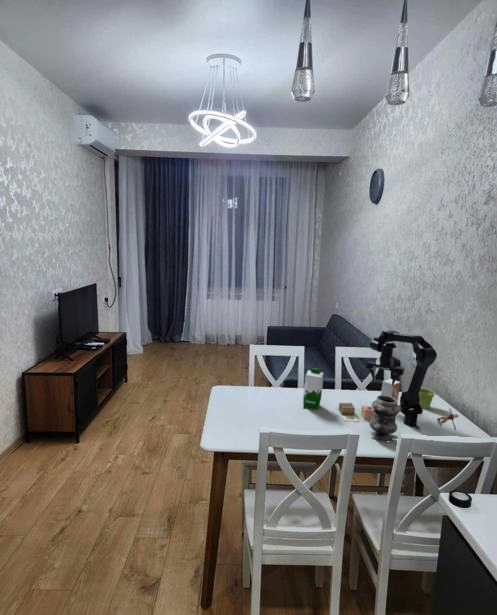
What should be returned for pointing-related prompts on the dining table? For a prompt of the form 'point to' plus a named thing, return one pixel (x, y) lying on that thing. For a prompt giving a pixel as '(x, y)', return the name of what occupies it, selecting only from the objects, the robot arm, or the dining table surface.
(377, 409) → the ornate grey vase
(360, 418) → the board
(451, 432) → the dining table surface
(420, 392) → the plant pot
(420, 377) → the robot arm
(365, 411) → the pink knobbed block
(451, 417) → the action figure
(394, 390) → the small box
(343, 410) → the walnut brick
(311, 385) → the milk carton
